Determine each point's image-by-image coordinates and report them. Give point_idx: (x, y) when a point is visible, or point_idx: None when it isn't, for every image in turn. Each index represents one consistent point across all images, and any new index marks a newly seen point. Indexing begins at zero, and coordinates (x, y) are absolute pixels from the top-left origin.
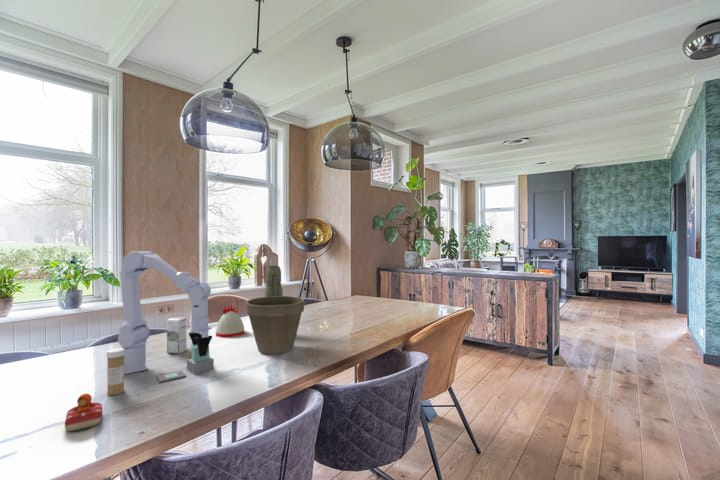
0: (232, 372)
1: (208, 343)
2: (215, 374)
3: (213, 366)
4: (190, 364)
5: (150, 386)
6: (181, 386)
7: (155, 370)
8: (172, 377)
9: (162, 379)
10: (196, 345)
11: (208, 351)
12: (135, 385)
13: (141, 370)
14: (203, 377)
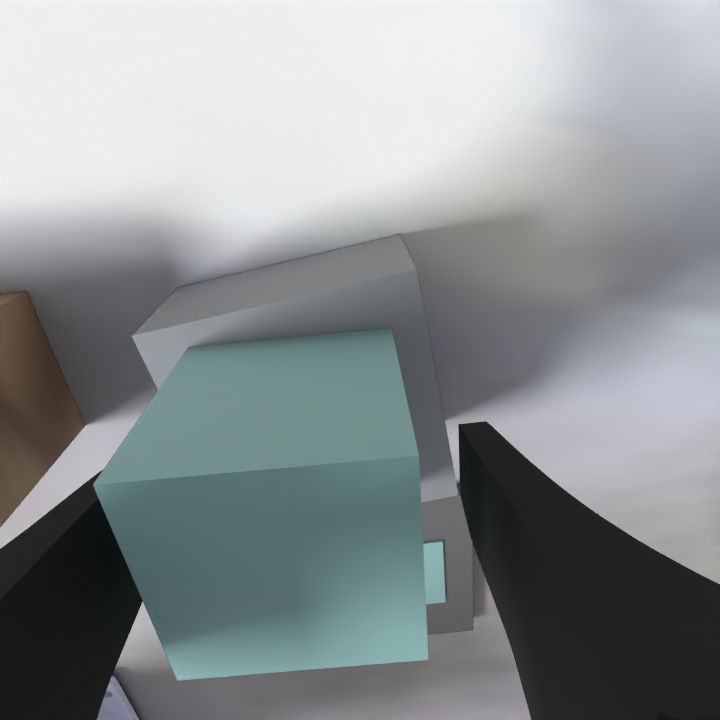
0: (693, 30)
1: (662, 567)
2: (594, 245)
3: (402, 243)
4: None
5: (494, 651)
6: (658, 517)
7: (149, 636)
8: (450, 570)
9: (448, 617)
10: (241, 626)
11: (402, 395)
12: (413, 704)
13: (128, 701)
14: (588, 362)
